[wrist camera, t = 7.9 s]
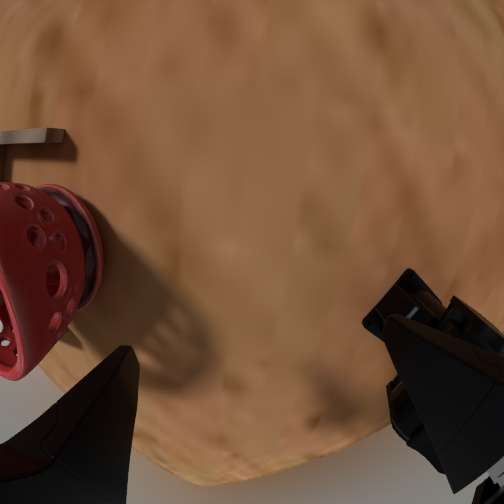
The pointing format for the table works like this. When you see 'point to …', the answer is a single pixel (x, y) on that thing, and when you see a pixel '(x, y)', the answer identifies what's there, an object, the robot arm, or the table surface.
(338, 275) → the table surface
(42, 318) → the plant pot
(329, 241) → the table surface
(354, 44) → the table surface
